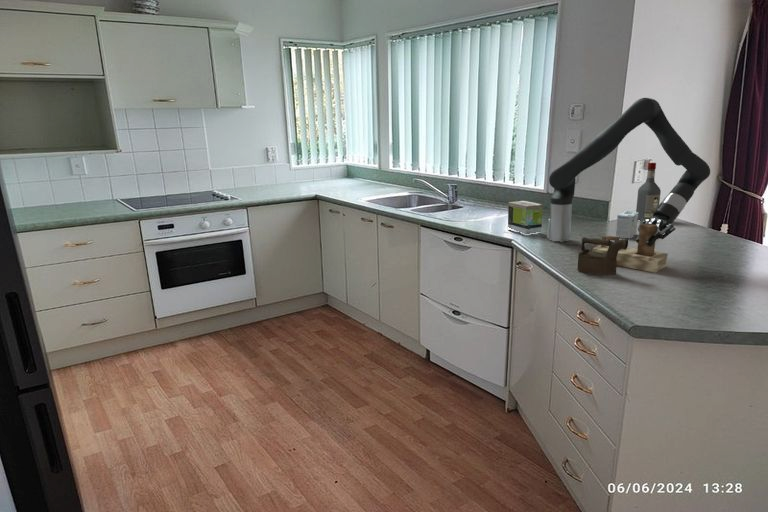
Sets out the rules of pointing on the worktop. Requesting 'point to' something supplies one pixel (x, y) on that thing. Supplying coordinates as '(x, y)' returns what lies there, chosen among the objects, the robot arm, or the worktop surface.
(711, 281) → the worktop surface
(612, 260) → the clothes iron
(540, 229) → the tea box
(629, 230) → the light bulb box
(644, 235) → the walnut key
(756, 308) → the worktop surface
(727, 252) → the worktop surface
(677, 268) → the worktop surface
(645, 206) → the liquor
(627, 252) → the pine toolbox
